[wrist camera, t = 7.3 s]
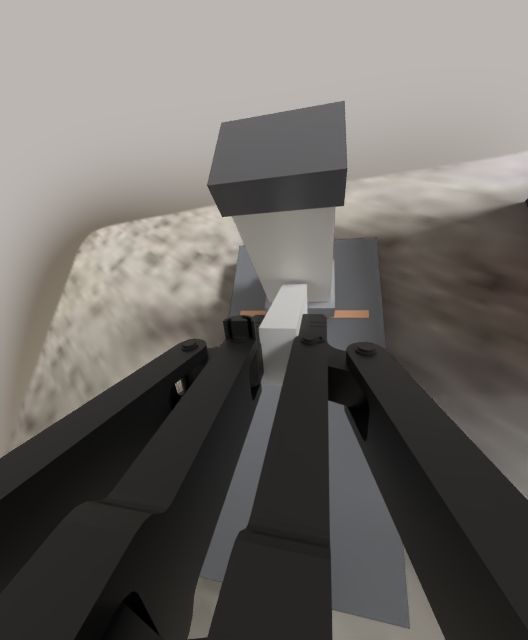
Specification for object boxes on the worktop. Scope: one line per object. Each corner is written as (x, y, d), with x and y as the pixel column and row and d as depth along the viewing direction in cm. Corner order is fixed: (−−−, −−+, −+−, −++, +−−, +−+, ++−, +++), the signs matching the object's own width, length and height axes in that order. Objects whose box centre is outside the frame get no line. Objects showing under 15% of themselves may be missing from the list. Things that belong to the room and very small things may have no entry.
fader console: (371, 253, 24) (381, 218, 20) (397, 603, 15) (424, 668, 11) (246, 259, 27) (233, 229, 23) (206, 559, 18) (171, 598, 14)
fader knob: (333, 271, 21) (344, 97, 10) (334, 316, 20) (347, 172, 8) (272, 273, 22) (222, 119, 11) (269, 316, 21) (205, 189, 10)
